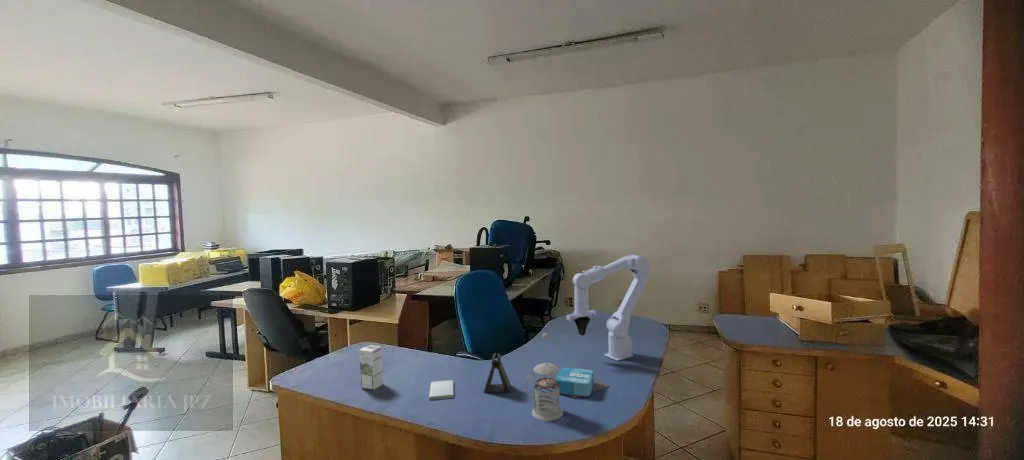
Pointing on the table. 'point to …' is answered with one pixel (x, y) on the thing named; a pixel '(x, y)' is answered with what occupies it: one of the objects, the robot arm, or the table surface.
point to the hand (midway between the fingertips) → (581, 334)
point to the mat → (596, 386)
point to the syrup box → (371, 367)
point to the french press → (544, 405)
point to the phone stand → (505, 381)
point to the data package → (575, 381)
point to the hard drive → (441, 390)
